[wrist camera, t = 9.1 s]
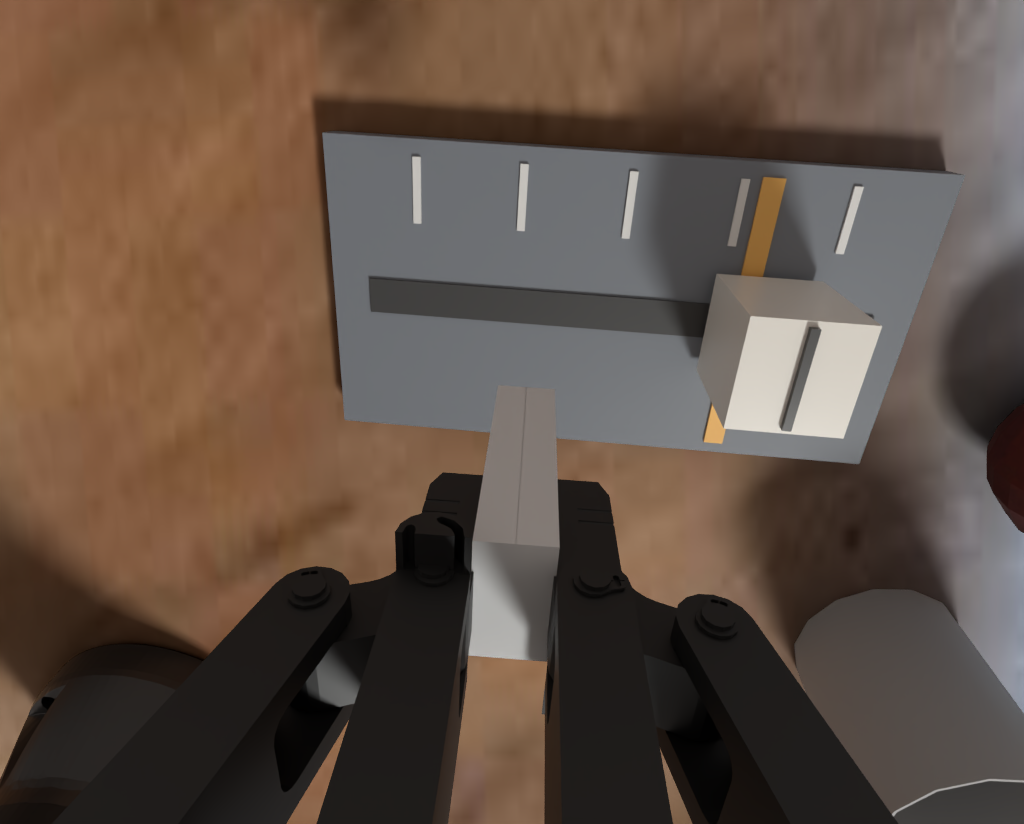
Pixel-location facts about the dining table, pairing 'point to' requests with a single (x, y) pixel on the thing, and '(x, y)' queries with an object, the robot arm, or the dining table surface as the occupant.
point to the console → (601, 278)
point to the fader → (784, 355)
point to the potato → (1008, 466)
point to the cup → (916, 708)
